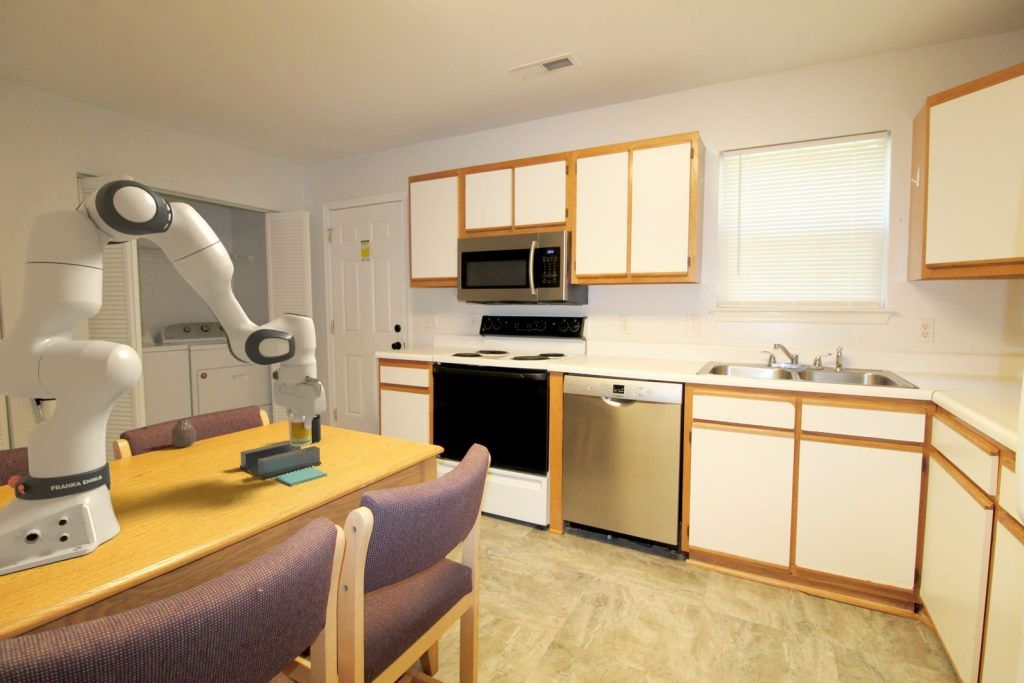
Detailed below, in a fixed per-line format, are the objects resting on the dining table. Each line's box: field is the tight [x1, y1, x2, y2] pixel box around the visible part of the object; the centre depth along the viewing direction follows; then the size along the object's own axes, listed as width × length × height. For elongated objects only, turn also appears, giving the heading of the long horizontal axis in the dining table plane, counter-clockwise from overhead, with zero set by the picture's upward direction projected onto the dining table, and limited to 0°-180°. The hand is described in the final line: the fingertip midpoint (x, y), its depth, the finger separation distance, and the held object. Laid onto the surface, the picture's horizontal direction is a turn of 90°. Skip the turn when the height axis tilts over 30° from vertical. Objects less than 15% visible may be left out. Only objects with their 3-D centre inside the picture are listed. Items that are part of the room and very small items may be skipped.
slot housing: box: [239, 440, 322, 481], centre depth 140 cm, size 16×15×5 cm
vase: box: [169, 418, 197, 449], centre depth 159 cm, size 7×7×9 cm
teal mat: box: [275, 467, 328, 487], centre depth 131 cm, size 10×8×1 cm
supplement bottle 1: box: [288, 409, 312, 447], centre depth 130 cm, size 5×5×10 cm
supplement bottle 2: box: [311, 414, 322, 444], centre depth 166 cm, size 7×7×12 cm
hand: (300, 426), depth 130 cm, fingers closed on supplement bottle 1, 5 cm apart
